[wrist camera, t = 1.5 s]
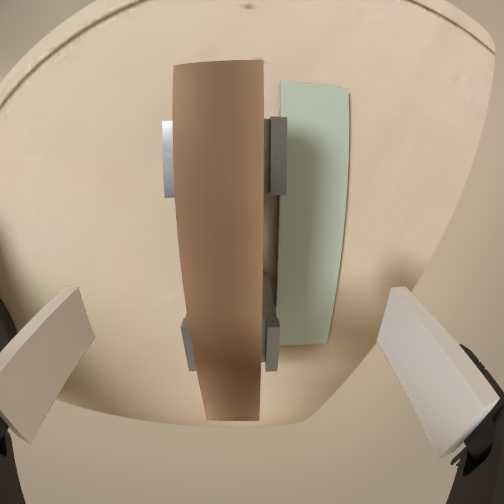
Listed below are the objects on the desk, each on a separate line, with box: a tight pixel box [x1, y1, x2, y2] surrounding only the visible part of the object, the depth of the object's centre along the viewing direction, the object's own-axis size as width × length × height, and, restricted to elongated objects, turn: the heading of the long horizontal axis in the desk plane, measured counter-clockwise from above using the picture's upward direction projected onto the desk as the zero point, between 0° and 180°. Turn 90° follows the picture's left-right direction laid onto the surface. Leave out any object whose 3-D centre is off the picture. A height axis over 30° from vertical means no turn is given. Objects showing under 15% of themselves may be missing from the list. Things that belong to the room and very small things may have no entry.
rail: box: [173, 60, 264, 421], centre depth 14 cm, size 4×20×4 cm, turn 0°
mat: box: [276, 81, 349, 346], centre depth 22 cm, size 6×24×1 cm, turn 0°
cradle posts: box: [162, 117, 287, 372], centre depth 18 cm, size 6×16×8 cm, turn 0°
